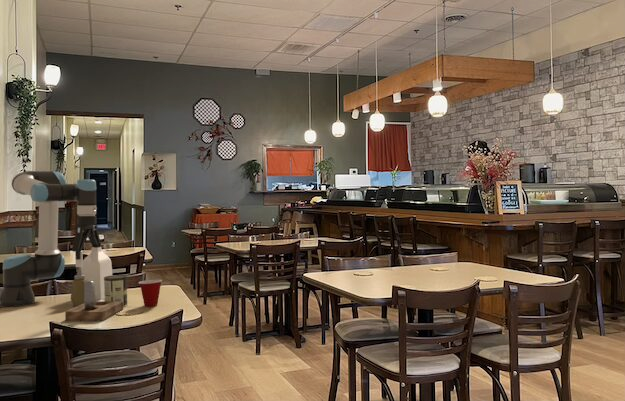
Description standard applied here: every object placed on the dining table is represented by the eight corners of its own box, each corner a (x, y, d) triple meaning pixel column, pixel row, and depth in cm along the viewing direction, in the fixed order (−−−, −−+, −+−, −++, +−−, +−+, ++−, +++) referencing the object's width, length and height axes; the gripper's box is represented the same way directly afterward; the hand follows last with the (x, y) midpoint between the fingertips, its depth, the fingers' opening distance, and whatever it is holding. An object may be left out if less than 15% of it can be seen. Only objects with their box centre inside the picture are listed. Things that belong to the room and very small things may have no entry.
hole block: (65, 321, 213) (65, 311, 213) (89, 309, 233) (88, 301, 233) (102, 321, 212) (102, 311, 212) (123, 310, 232) (122, 301, 232)
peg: (82, 317, 216) (82, 282, 216) (87, 315, 220) (87, 280, 220) (92, 317, 216) (91, 282, 215) (96, 315, 220) (96, 280, 219)
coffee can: (117, 303, 248) (117, 274, 248) (132, 305, 243) (131, 275, 242) (99, 307, 239) (99, 277, 239) (113, 309, 234) (113, 279, 234)
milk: (100, 299, 255) (100, 248, 255) (79, 299, 257) (79, 247, 256) (113, 295, 267) (113, 245, 266) (93, 294, 269) (93, 245, 268)
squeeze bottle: (82, 307, 238) (81, 269, 238) (66, 306, 240) (66, 268, 239) (92, 303, 246) (92, 266, 246) (78, 303, 248) (77, 266, 247)
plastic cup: (151, 302, 249) (151, 277, 249) (167, 304, 244) (167, 279, 244) (133, 306, 240) (133, 281, 240) (149, 309, 234) (149, 283, 234)
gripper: (80, 217, 206) (80, 269, 206) (108, 213, 230) (109, 260, 231) (62, 216, 206) (63, 269, 207) (92, 213, 231) (93, 260, 231)
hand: (87, 264), depth 219 cm, fingers open, 13 cm apart
